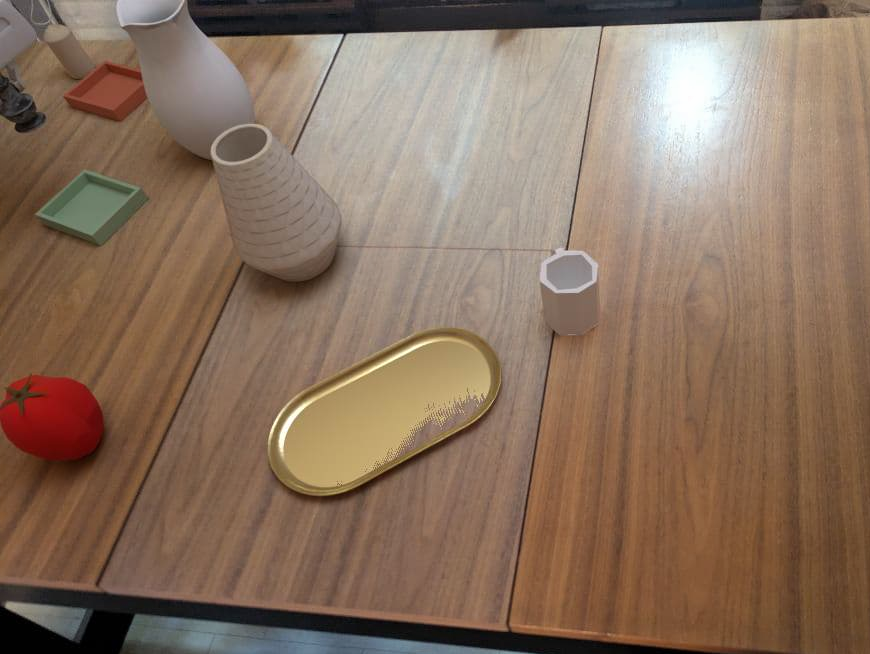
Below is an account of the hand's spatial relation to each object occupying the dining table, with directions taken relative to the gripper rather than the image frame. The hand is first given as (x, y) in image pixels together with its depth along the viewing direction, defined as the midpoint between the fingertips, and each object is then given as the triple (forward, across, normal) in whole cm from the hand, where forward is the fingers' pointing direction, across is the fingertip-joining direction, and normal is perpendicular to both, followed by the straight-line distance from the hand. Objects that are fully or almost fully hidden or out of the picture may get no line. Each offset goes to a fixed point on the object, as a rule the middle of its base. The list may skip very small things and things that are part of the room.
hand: (10, 99), depth 116 cm
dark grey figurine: (+5, 0, 0) cm, 5 cm away
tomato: (+20, +41, +39) cm, 60 cm away
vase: (+20, -1, +50) cm, 54 cm away
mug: (+21, -8, +96) cm, 98 cm away
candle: (+20, -29, -30) cm, 46 cm away
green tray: (+20, +4, +6) cm, 21 cm away
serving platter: (+21, +19, +80) cm, 84 cm away
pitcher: (+20, -22, +14) cm, 33 cm away
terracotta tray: (+20, -25, -16) cm, 35 cm away
